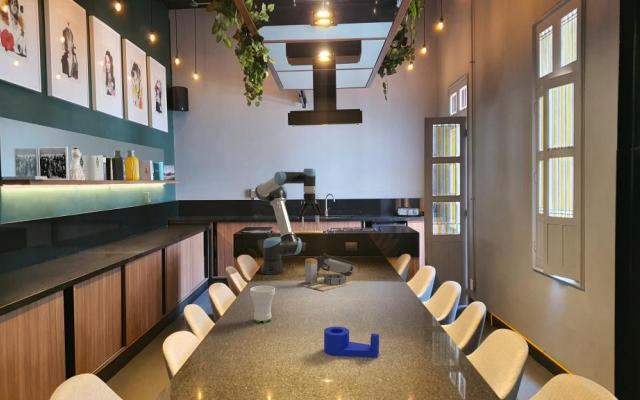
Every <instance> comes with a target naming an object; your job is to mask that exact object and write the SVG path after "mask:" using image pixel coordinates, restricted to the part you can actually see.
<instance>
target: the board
mask: <svg viewBox="0 0 640 400" xmlns="http://www.w3.org/2000/svg"><path fill="white" fill-rule="evenodd" d="M302 282H303V281H302ZM302 282H296V285H297V286H300V287H305V288H309V289H313V290H316V291H319V292H326V291H327V292H328V291H330V290H334V289H338V288H342V287H346V286H350V285H353V284H355V282H354V281H350V280H346V284H342V285H329V284H325V283H324V276H323V277H319V278H317V282H321V283H322V284H317V285H313V286H309V285H305V284H301V283H302Z"/></svg>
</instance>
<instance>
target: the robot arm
mask: <svg viewBox="0 0 640 400" xmlns="http://www.w3.org/2000/svg"><path fill="white" fill-rule="evenodd" d="M273 176H274V177H272V178H271V179H269V180H267V181H265V182H264V183H260V184H259V185H257V186H256V187H255V189H254V195H255V197H256V199H258V200H260V201H262V202H269V204H270V206H272V208H273V210H274V215H275V218H276V223H277V226H278V230H279V234H280V235H279V236H273V237H268V238H266V239H264V241H263V246H262V248H263V262H262V264H261V265H262V266H261V269H260V273H261V274H262V275H269V276H270V275H271V276H275V275H281V274H284V272H285V271H284V265H283V262H282V257H285V256H294V255H295V256H296V255H299V254H300V253H301V250H302V239H301V238H300V237H297V234H296V233H295V232H293V228H292V225H291V222H290V218H289V214H288V210H287V207H286V201H287V198H288V191H287V189H286V186H284V185H288V184H290V185H291V184H294V185H295V184H300V185H301V184H302V185H303V200H300V201H299V202H300V203H299V206H298V208H297V212H296V214H295V215H296V216H297V217H298V222H299V228H304V223H305V221H304V214H305V213H306V211H307V210H308V209H310V208H311V209H312V210H313V212H314V213H315V217H314V218H315V221H314V222H315V223H314V225H315V226H316V227H317V226H318V227H320V218H321V217H320V216H321V215H323V211H322V209H321V207H320V202H319V200H318V199H317V200H315V199H316V176H317V175H316V169H315V168H303V171H282V170H281V171H276V172H275V173H274V175H273Z"/></svg>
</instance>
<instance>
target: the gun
mask: <svg viewBox="0 0 640 400" xmlns="http://www.w3.org/2000/svg"><path fill="white" fill-rule="evenodd" d="M313 259H317V276H318V275H319V271H320V269H322V271H325V272H334V273H335V274H341V275H345V276H346V277H347V276H351V275H352V274H353V273H354V270H355V267H356V266H355V264H354V262H352V261H349V260H345V259H344V258H343V259H342V258H338V257H335V256H332V255H328V254H327V253H323V254H322V256H321V255H319V256H314V257H313ZM326 267H327V268H326Z"/></svg>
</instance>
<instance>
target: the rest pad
mask: <svg viewBox="0 0 640 400" xmlns="http://www.w3.org/2000/svg"><path fill="white" fill-rule="evenodd" d="M300 283H301V282H300ZM301 284H305V285H309V286H313V285H317V284H322V283H321V282H317V283H314V284H308V283H305V281H302V283H301Z"/></svg>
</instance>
